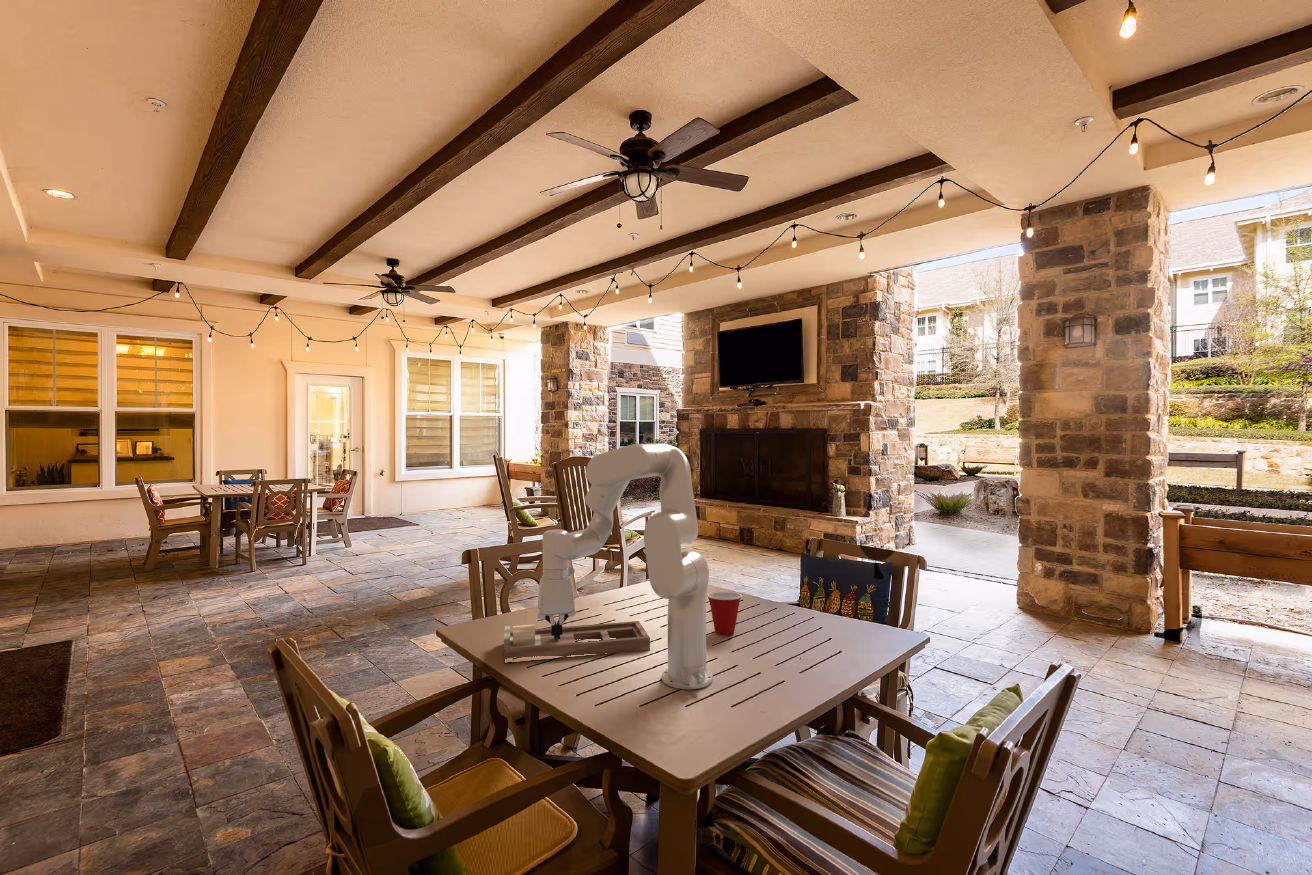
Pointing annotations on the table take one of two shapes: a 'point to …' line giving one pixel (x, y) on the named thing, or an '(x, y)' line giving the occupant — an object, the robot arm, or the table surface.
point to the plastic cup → (724, 611)
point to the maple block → (523, 635)
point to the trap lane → (626, 635)
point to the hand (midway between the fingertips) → (556, 637)
